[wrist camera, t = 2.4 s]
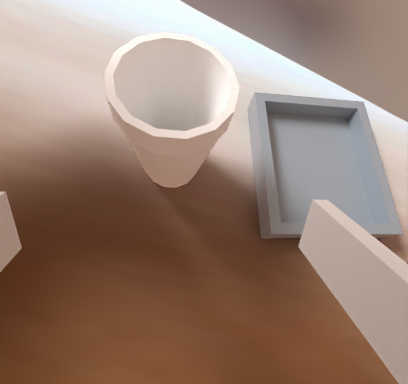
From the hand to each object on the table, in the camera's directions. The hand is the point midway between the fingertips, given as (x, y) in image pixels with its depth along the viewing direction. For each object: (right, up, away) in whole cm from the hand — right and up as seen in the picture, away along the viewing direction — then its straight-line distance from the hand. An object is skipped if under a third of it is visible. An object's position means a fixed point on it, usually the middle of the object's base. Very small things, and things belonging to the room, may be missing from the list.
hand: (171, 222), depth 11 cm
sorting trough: (+15, +4, +21) cm, 26 cm away
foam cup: (-3, +5, +18) cm, 19 cm away
